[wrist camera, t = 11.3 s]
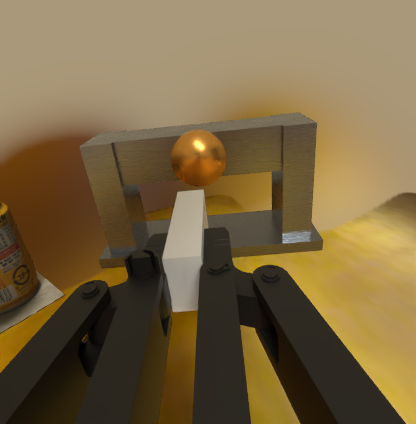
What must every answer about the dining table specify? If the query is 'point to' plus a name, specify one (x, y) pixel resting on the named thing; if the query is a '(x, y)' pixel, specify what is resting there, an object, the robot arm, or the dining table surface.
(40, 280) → the condiment
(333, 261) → the dining table surface
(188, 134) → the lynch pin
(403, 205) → the dining table surface
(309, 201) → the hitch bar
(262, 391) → the dining table surface
